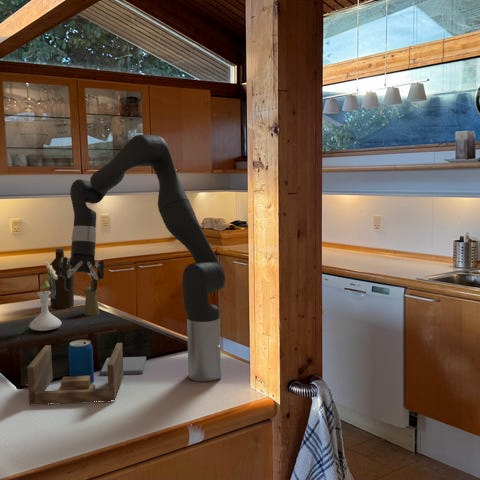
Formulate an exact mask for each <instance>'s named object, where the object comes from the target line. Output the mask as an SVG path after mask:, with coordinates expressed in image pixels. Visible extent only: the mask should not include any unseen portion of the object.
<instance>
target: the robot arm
mask: <svg viewBox="0 0 480 480" xmlns="http://www.w3.org/2000/svg"><path fill="white" fill-rule="evenodd" d="M138 166H141V167H151V168H152V169H153V170H154V172H155V175H156V178H157V180H158V183H159V184H158V186H159V188H158V197H157V208H158V212H159V214H160V216H161V219H162V220H163V223H164V226H165V228H166V229H167V230H168V232H169V233H170V234H171V235H172V236H173V237H174V238H175V239H176V240H178V242H179V243H181V244H182V245H183V246H184V247H185V248H186V249H187V250H188V252H189V253H190V254H191V256H192V258H193V261H194V262H193V263H190V264H187V265H186V266H185V268H184V269H183V273H182V278H181V279H182V281H181V283H182V295H183V306H184V309H185V312H186V318H187V319H186V324H187V325H186V326H187V327H186V328H187V331H186V332H187V360H188V361H187V372H188V373H187V375H188V378H189V379H190V380H191V381H195V382H210V381H211V382H212V381H215V380H216V381H217V380H220V379H222V377H221V376H222V369H221V367H222V366H221V362H222V361H221V358H222V357H221V331H220V327H221V326H220V325H221V323H220V321H221V320H220V318H221V317H220V315H221V313H220V308H219V306H217V305H215V304H212V303H211V304H210V302H209V295H208V294H212V293H215V292H218V291H220V290H222V289H223V288H224V286H225V283H226V276H225V271H224V269H223V266H222V264H221V262H220V260H219V258H218V257H217V255H216V253H215V251H214V250H213V248H212V247H211V245H210V243H209V242H208V239H207V237H206V235H205V233H204V231H203V229H202V227H201V224H200V223H199V220H198V218H197V216H196V212H195V210H194V209H193V206H192V204H191V202H190V199H189V197H188V196H187V194H186V191H185V189H184V186H183V184H182V181H181V179H180V177H179V174H178V172H177V170H176V169H177V168H176V166H175V163H174V159H173V157H172V154H171V151H170V147H169V145H168V142H166V140H165V139H164V138H163V137H161V136H159V135H154V134H145V133H144V134H137V135H134V136H133V137H131V138H130V139H129V140H128V141H127V143H126V144H125V145H124V146H123V147H122V148H121V149H120V150H119V151H118V152H117V154H116V155H115V156H114V157H113V158H112V159H111V160H110V161H109V162H107V164H105V165H103V166H102V167H101V168H99V169H98V170H97V171H95V172H94V173H92V175H91V176H90V179H89V180H85V179H80V178H79V179H75V180H74V181H73V182H72V184H71V186H70V191H69V193H70V200H71V205H72V209H73V214H74V216H73V228H72V229H73V230H72V233H71V247H70V257H67V256H64V257H62V258H61V260H60V268H59V276H62V277H64V288H65V290H67V291H69V290H70V285H71V279H70V277H71V276H72V275H73V274H74V275H75V273H82V274H83V273H84V274H85V273H87V275H88V276H89V277H90V279H91V280H90V287H91V292H95V290H98V281H99V280H101V279H102V280H103V279H104V277H105V275H104V273H105V272H104V267H105V266H104V260H96V259H95V256H96V241H97V240H96V239H97V230H96V228H97V212H96V211H95V210H94V209H92V208H90V207H88V206H87V203H88V204H93V205H95V204H98V203H101V201H102V200H103V199H104V197H105V196H106V195H107V193H108V191H110V190H111V189H113V188H114V187H116V186H117V185H119V184H120V183H121V181H122V180H123V179H124V176H125V173H126V172H127V171H128V170H131V169H132V168H135V167H138ZM68 262H70V264H71V268H70V269H69V270H68V272H67V273H66V265H67V264H68ZM94 266H95V267H96V271H95V269H94Z"/></svg>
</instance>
